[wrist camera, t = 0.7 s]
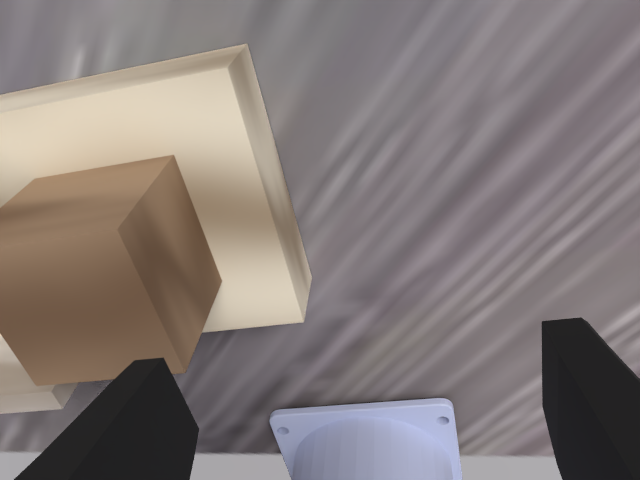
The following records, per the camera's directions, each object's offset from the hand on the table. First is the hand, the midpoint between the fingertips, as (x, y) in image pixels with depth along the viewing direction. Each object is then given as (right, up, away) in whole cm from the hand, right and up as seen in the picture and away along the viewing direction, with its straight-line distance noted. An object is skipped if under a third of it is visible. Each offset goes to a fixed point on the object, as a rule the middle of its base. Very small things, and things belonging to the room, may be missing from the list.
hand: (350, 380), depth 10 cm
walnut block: (-6, +3, +7) cm, 10 cm away
